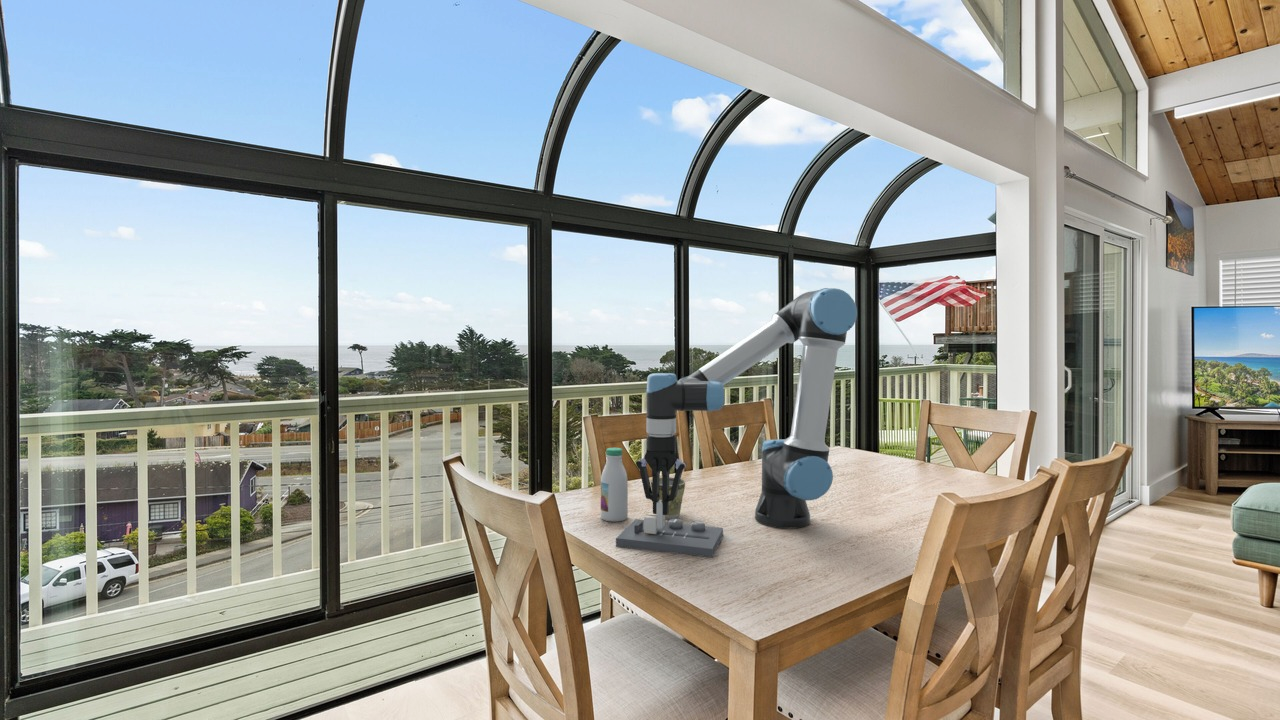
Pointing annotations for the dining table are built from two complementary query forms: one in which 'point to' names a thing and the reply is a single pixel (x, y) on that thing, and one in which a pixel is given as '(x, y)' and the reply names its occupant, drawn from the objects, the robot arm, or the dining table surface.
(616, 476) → the milk bottle
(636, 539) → the console
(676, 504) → the ceramic cup
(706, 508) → the dining table surface
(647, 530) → the fader cap
